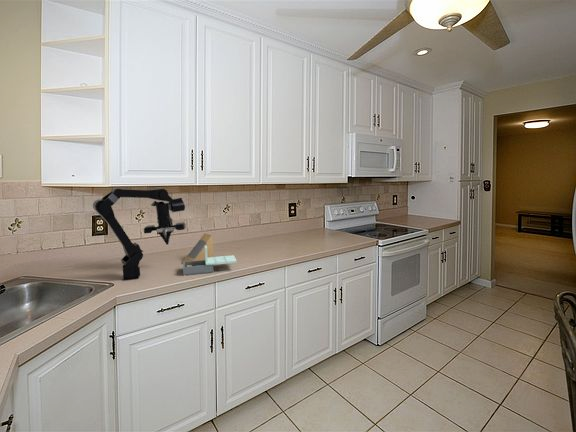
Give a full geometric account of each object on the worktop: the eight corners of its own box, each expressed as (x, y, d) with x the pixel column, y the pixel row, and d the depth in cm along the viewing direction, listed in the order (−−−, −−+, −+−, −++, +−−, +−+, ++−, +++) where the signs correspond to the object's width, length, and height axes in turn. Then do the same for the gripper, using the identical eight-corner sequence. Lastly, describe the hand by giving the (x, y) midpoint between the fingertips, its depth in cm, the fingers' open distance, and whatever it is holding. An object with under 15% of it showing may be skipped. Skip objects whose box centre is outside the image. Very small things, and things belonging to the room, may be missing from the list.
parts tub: (183, 275, 140) (182, 267, 140) (183, 269, 150) (183, 261, 149) (213, 272, 144) (213, 264, 144) (212, 266, 154) (211, 259, 153)
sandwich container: (180, 263, 160) (178, 236, 158) (205, 258, 171) (204, 232, 169) (187, 267, 154) (186, 239, 152) (213, 261, 165) (212, 235, 163)
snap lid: (205, 265, 142) (205, 249, 141) (204, 259, 153) (204, 244, 152) (236, 262, 147) (236, 247, 146) (233, 256, 157) (233, 242, 156)
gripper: (185, 209, 154) (188, 238, 157) (147, 213, 151) (151, 242, 154) (182, 213, 143) (185, 243, 146) (141, 216, 140) (146, 248, 143)
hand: (167, 244), depth 148 cm, fingers closed
